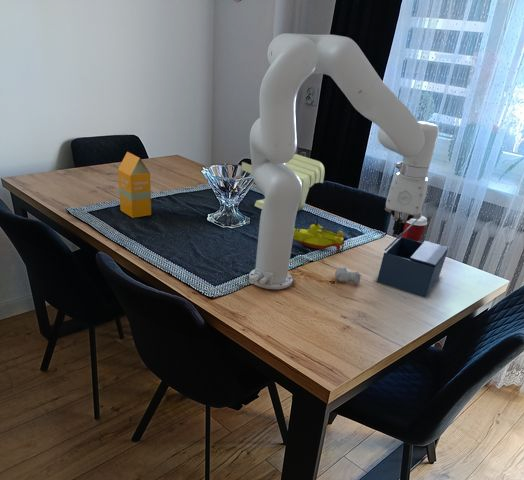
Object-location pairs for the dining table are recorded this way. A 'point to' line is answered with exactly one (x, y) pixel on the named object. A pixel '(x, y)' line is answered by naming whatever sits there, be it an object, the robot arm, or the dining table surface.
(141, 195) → the orange juice
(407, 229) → the flap
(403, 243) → the carton
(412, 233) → the paper cup
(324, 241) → the toy boat
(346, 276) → the pale two-lobed sculpture
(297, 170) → the slatted curved stool
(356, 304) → the dining table surface
